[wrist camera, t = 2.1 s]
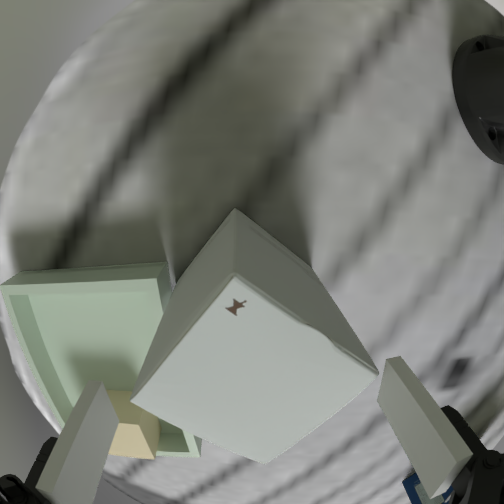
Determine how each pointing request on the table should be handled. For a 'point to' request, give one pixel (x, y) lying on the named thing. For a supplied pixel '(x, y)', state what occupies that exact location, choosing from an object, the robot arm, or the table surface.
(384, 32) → the table surface
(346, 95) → the table surface
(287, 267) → the supplement box
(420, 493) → the protein box
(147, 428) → the tan rectangular block
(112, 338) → the green tray
